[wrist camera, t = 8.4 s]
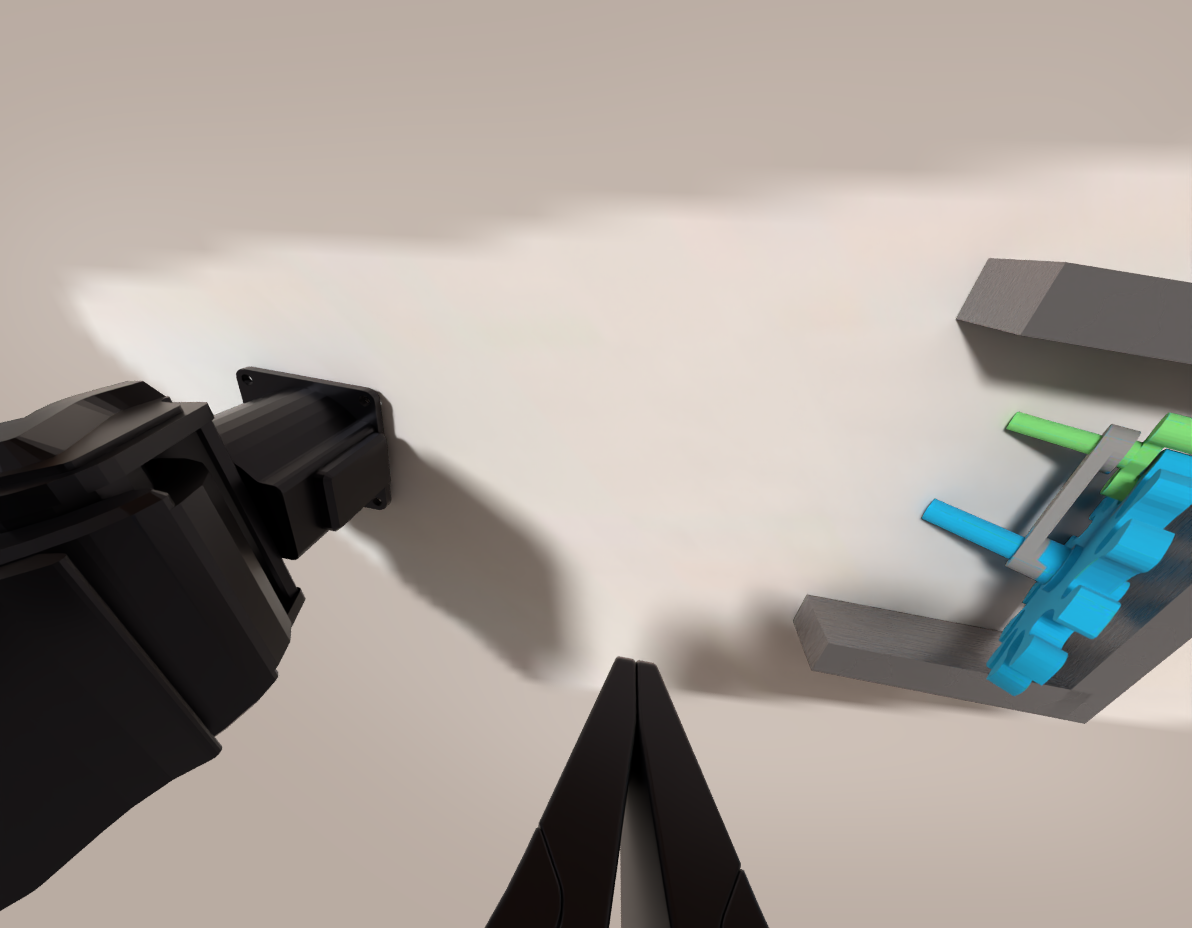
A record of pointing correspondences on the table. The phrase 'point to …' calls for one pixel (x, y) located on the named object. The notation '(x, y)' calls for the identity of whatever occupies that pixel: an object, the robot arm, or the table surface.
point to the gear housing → (1153, 600)
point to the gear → (1083, 540)
